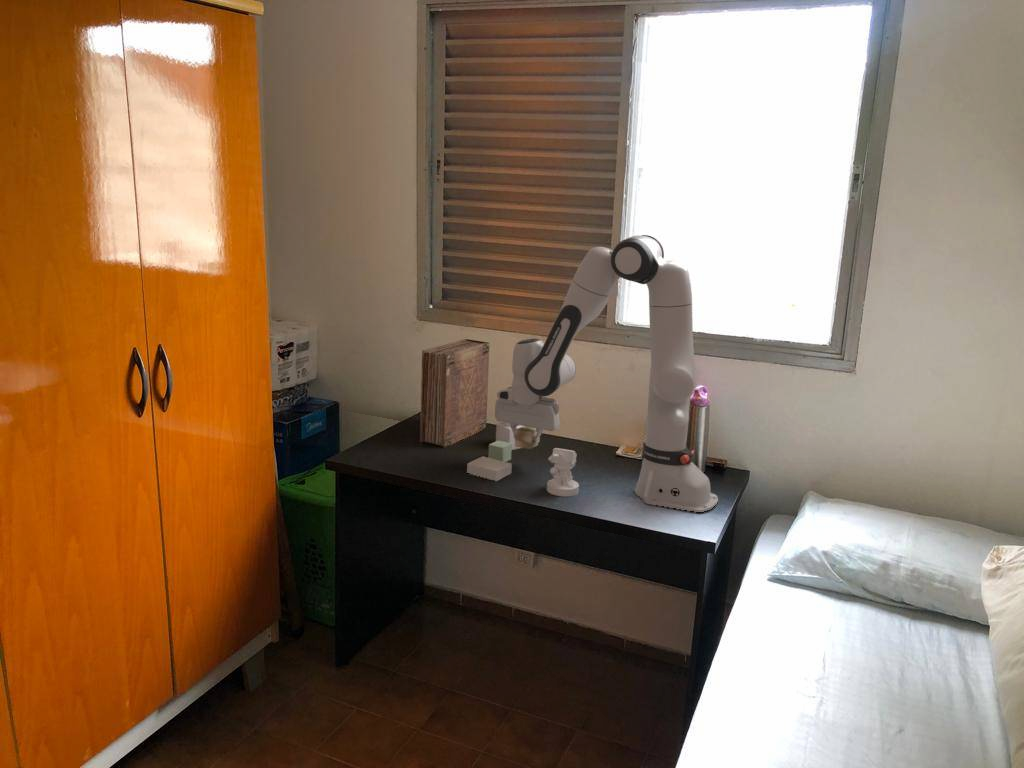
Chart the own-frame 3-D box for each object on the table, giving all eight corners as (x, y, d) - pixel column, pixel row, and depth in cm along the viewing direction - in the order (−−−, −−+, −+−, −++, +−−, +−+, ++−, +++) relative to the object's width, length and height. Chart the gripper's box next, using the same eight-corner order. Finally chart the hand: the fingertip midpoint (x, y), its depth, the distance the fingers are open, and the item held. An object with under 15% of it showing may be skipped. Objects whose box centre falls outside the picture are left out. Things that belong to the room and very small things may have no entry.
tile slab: (511, 473, 235) (511, 463, 234) (496, 481, 228) (496, 471, 227) (482, 465, 240) (482, 456, 239) (467, 473, 233) (467, 463, 232)
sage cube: (511, 459, 247) (511, 443, 246) (502, 463, 243) (503, 447, 242) (497, 456, 249) (497, 440, 248) (488, 460, 245) (488, 444, 244)
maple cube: (538, 444, 239) (538, 428, 238) (529, 449, 235) (529, 432, 234) (523, 441, 242) (523, 425, 240) (514, 446, 237) (514, 429, 236)
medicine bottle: (512, 441, 264) (514, 405, 261) (526, 447, 258) (528, 411, 255) (495, 444, 259) (496, 408, 256) (508, 451, 254) (510, 414, 251)
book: (443, 448, 253) (446, 354, 246) (419, 443, 258) (421, 350, 250) (486, 429, 275) (489, 342, 267) (463, 424, 279) (466, 338, 272)
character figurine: (542, 493, 221) (545, 451, 218) (553, 481, 230) (555, 441, 227) (573, 498, 219) (576, 456, 216) (583, 486, 227) (585, 446, 224)
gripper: (564, 397, 232) (562, 443, 235) (503, 387, 242) (503, 431, 246) (553, 402, 227) (552, 449, 230) (492, 391, 237) (491, 437, 240)
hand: (526, 440), depth 238 cm, fingers closed on maple cube, 5 cm apart
